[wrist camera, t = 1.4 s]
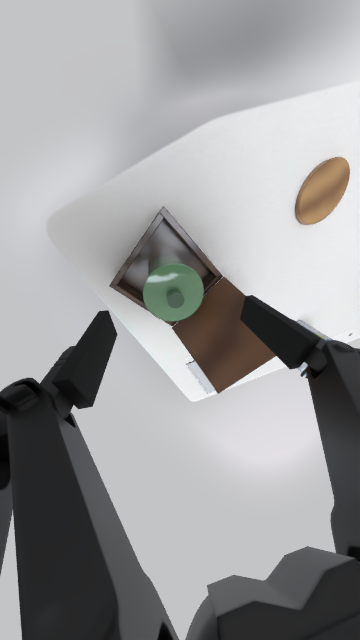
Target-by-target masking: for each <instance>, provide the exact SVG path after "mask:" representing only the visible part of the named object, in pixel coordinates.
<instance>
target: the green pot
mask: <svg viewBox="0 0 360 640" xmlns="http://www.w3.org/2000/svg"><path fill="white" fill-rule="evenodd" d="M203 294H204V288H203V283H202V280H201V278H200V276H199V275H198V274H197V273H196V272H195V271H194V270H193V269H192V268H191V267H189V266H187V265H186V264H185V263H184V262H183V261H182V260H181V259H180V258H178V257H177V256H175V255H173V254H168V253H165V254H160V255H158V256H156V257H155V258H153V259H152V261H151V262H150V263H149V266H148V269H147V276H146V281H145V284H144V288H143V299H144V303H145V305H146V307H147V309H148V310H149V311H150V312H151V313H152V314H153V315H154V316H155V317H157V318H159V319H162V320H165V321H179V320H182V319H185V318H187V317H189V316H190V315H192V314H193V313H194V312H195V311H196V310H197V309H198V307H199V306H200V304H201V302H202V299H203Z"/></svg>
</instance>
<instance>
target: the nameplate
mask: <svg viewBox="0 0 360 640" xmlns="http://www.w3.org/2000/svg"><path fill="white" fill-rule="evenodd" d="M187 366H188V368H189V369H190V371H191V372H192V373H193V375H194V376H195V377H196V379H197V380H198V381H199V383H200V384H201V386H202V387H203V388H204V390H205V391H206V392H207V394H208V393H210V392H212V391H215V389H214V387H213V386H212V384H211V383H210V382H209V380H208V379H207V377H206V376H205V374H204V373H203V372H202V370H201V369H200V367H199V366H198V364H197V363H196V362H195V361H193V362H191V363H189V364H187Z"/></svg>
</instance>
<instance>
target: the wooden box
mask: <svg viewBox="0 0 360 640" xmlns="http://www.w3.org/2000/svg"><path fill="white" fill-rule="evenodd" d="M165 253H168V254H173V255H175V256H177V257H178V258H180V259H181V260H182V261H183V262H184V263H185V264H186V265H187V266H189V267H191V268H192V269H193V270H194V271H195V272H196V273H197V274H198V275H199V276H200V278H201V280H202V283H203V288H204V294H203V296H204V295H205V294H206V293H207V292H208V291H209V290H210V289H211V288H212V287H213V286H214V285H215V284H216V283H217V282H218V281H219V280H220V279H221V278H222V277H223V276H222V275H221V274H220V272H219V271H218V270H217V269H216V268H215V266H214V265H213V264H212V263H211V262H210V261H209V259H208V258H207V257H206V256H205V255H204V253H203V252H202V251H201V250H200V249H199V247H198V246H197V245H196V244H195V243H194V242H193V240H192V239H191V238H190V237H189V236H188V234H187V233H186V232H185V231H184V230H183V229H182V227H181V226H180V225H179V224H178V223H177V221H176V220H175V219H174V218H173V217H172V216H171V214H170V213H169V212H168V211H167V210H166V208H165V207H164V206H163V208H162V209H161V211H160V212H159V214H158V215H157V216H156V218H155V219H154V221H153V222H152V224H151V225H150V227H149V228H148V230H147V231H146V233H145V234H144V236H143V237H142V238H141V240H140V241H139V243H138V244H137V246H136V247H135V249H134V250H133V252H132V253H131V255H130V256H129V257H128V259H127V260H126V262H125V263H124V265H123V266H122V268H121V269H120V271H119V272H118V274H117V275H116V276H115V278H114V279H113V281H112V282H111V284H110V285H109V286H110V287H112V288H113V289H115V290H116V291H118V292H119V293H121V294H123V295H124V296H126V297H127V298H129V299H130V300H132V301H133V302H135V303H137V304H138V305H140V306H141V307H143V308H144V309H146V310H148V309H147V307H146V305H145V303H144V299H143V288H144V284H145V281H146V276H147V269H148V266H149V263H150V262H151V261H152V259H153V258H155V257H156V256H158V255H160V254H165ZM148 311H149V310H148ZM149 312H150V311H149ZM163 321H165V320H163ZM165 322H166V323H168V324H169V325H171V326H174V325H175V323H177V322H178V321H165Z"/></svg>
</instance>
